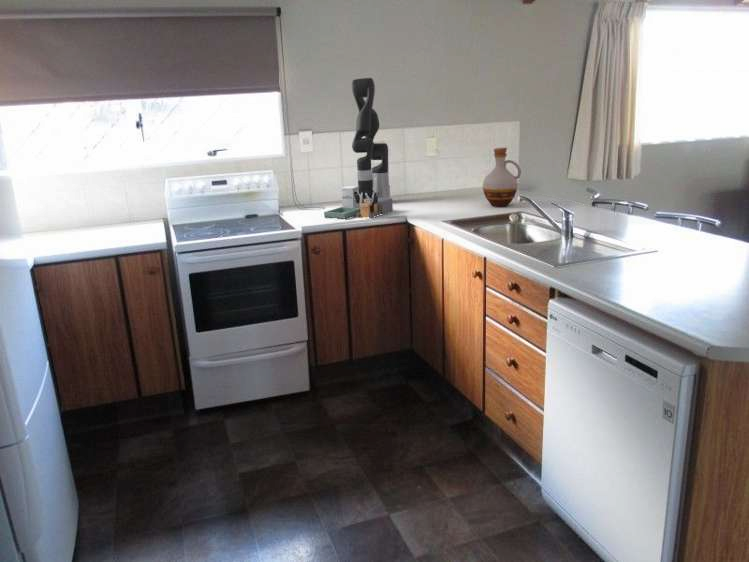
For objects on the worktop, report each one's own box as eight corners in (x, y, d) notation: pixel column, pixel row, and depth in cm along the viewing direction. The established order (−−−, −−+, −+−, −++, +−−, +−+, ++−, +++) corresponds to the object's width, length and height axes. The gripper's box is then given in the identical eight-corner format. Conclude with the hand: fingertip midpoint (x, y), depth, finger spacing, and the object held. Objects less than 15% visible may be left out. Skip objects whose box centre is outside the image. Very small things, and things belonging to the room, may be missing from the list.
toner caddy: (369, 213, 329) (368, 200, 327) (377, 214, 327) (376, 201, 324) (359, 217, 322) (358, 204, 320) (367, 218, 320) (366, 204, 317)
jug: (518, 202, 342) (519, 145, 333) (522, 208, 325) (523, 148, 316) (481, 203, 344) (481, 147, 335) (483, 209, 327) (483, 150, 318)
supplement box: (342, 211, 342) (340, 187, 339) (348, 208, 349) (347, 185, 345) (353, 211, 339) (352, 188, 335) (360, 209, 345) (359, 185, 342)
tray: (341, 212, 338) (341, 206, 338) (361, 214, 331) (361, 208, 330) (324, 217, 327) (323, 212, 326) (344, 219, 320) (344, 213, 319)
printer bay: (377, 210, 339) (376, 197, 337) (392, 211, 334) (392, 198, 332) (355, 217, 324) (354, 203, 322) (371, 218, 318) (370, 204, 316)
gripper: (381, 177, 317) (383, 211, 322) (357, 176, 324) (359, 209, 330) (373, 180, 311) (375, 214, 316) (349, 179, 318) (351, 212, 324)
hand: (367, 211), depth 323 cm, fingers closed on toner caddy, 5 cm apart
